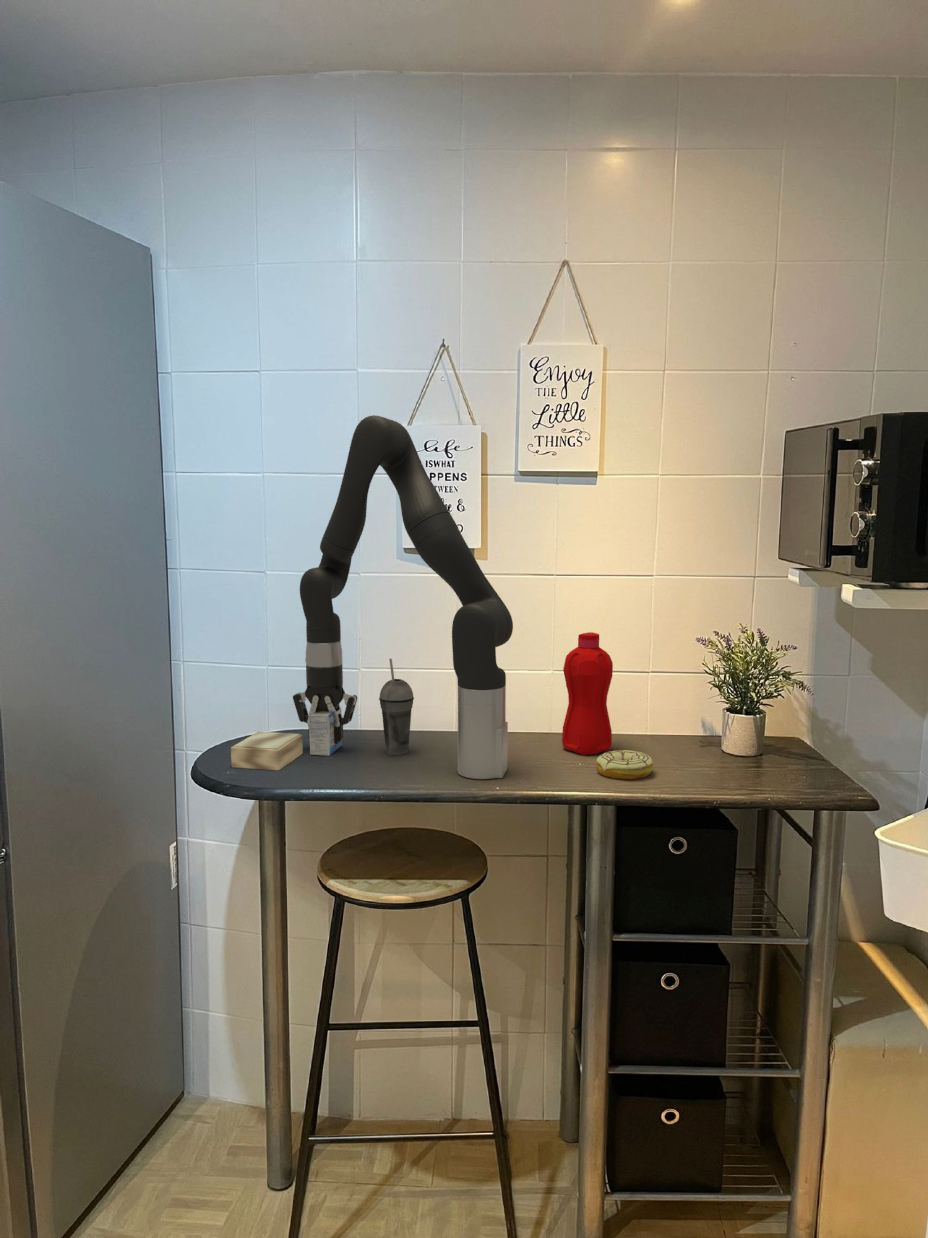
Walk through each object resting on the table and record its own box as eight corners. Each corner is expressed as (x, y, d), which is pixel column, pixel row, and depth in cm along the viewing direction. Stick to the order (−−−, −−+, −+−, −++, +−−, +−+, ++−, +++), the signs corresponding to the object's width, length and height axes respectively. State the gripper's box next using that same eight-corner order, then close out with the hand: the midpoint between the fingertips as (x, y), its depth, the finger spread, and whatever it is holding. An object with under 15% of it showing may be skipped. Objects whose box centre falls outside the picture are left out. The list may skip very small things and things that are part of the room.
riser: (302, 753, 182) (302, 733, 182) (278, 770, 170) (278, 749, 170) (258, 750, 184) (257, 731, 184) (231, 767, 173) (230, 746, 172)
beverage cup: (419, 755, 181) (418, 660, 178) (385, 758, 178) (384, 662, 176) (408, 746, 188) (407, 654, 185) (375, 749, 185) (374, 656, 182)
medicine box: (329, 756, 180) (328, 715, 179) (309, 755, 181) (308, 714, 180) (342, 746, 188) (341, 706, 186) (322, 745, 188) (322, 705, 187)
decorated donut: (593, 765, 175) (594, 747, 174) (647, 766, 174) (648, 747, 174) (599, 781, 164) (599, 762, 164) (656, 782, 164) (657, 762, 163)
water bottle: (580, 739, 193) (582, 627, 189) (617, 750, 184) (620, 633, 181) (550, 746, 187) (551, 631, 184) (586, 758, 178) (589, 637, 175)
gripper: (362, 660, 184) (364, 739, 186) (299, 658, 187) (301, 735, 189) (350, 667, 177) (352, 749, 179) (284, 664, 180) (287, 745, 182)
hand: (326, 741), depth 184 cm, fingers closed on medicine box, 4 cm apart
